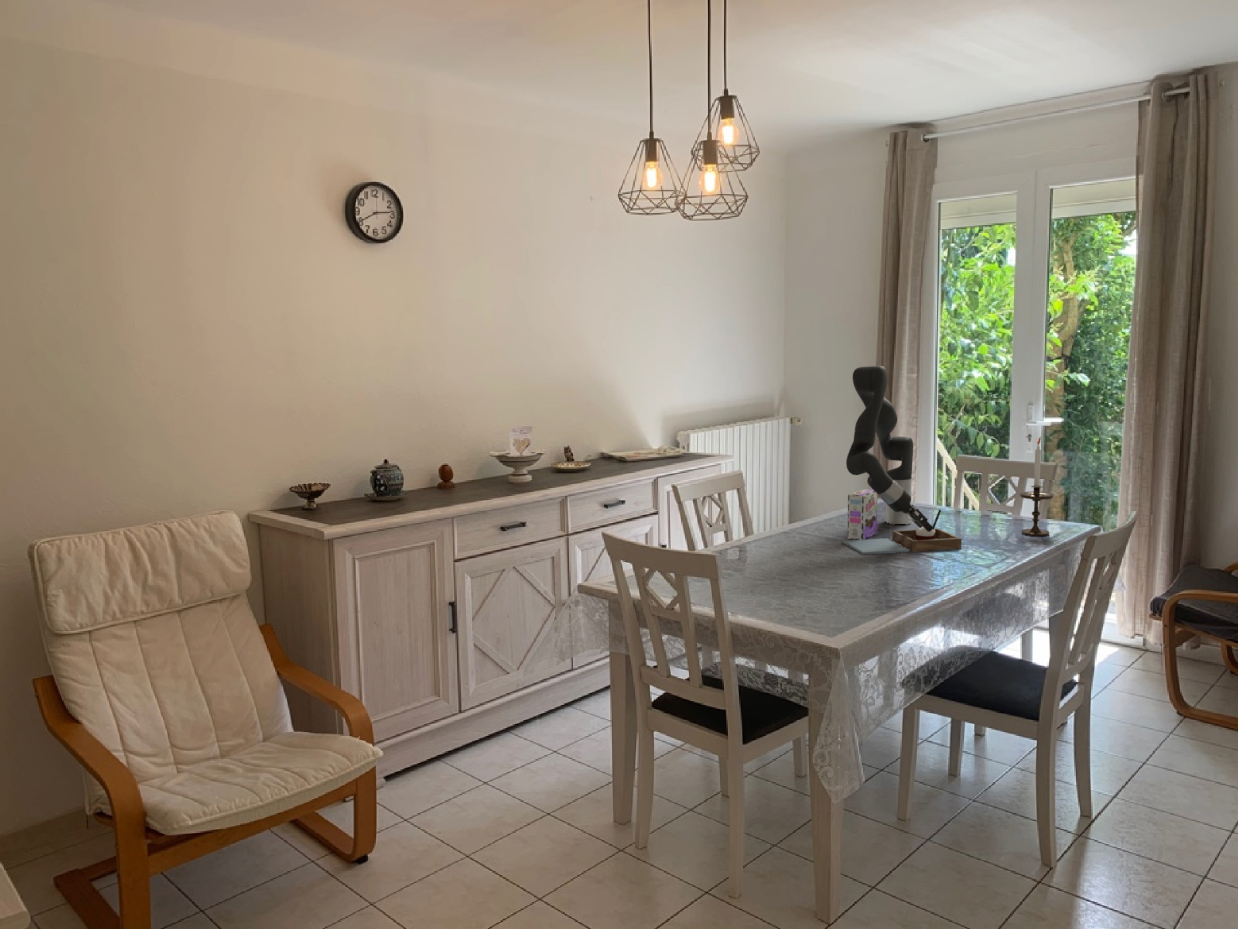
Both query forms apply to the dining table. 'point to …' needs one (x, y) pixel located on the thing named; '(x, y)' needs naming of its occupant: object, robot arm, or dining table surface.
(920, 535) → the cocoa
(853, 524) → the candy box
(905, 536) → the bin
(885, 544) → the board
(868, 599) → the dining table surface
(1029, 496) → the candlestick
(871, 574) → the dining table surface
